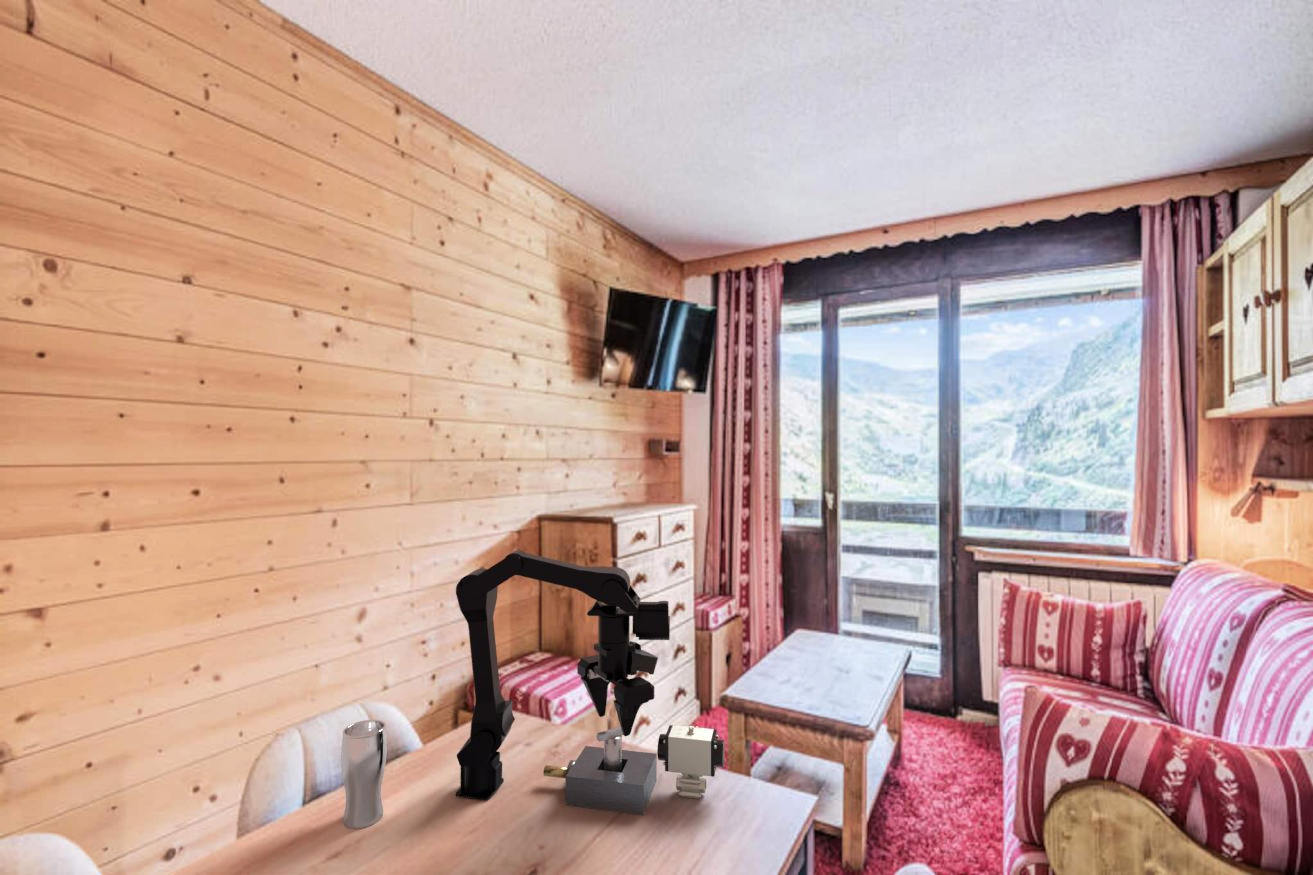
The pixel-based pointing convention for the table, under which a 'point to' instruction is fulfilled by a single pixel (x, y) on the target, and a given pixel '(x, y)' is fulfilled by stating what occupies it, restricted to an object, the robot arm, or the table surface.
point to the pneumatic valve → (691, 757)
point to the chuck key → (612, 749)
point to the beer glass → (363, 772)
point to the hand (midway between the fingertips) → (613, 725)
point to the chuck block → (608, 781)
